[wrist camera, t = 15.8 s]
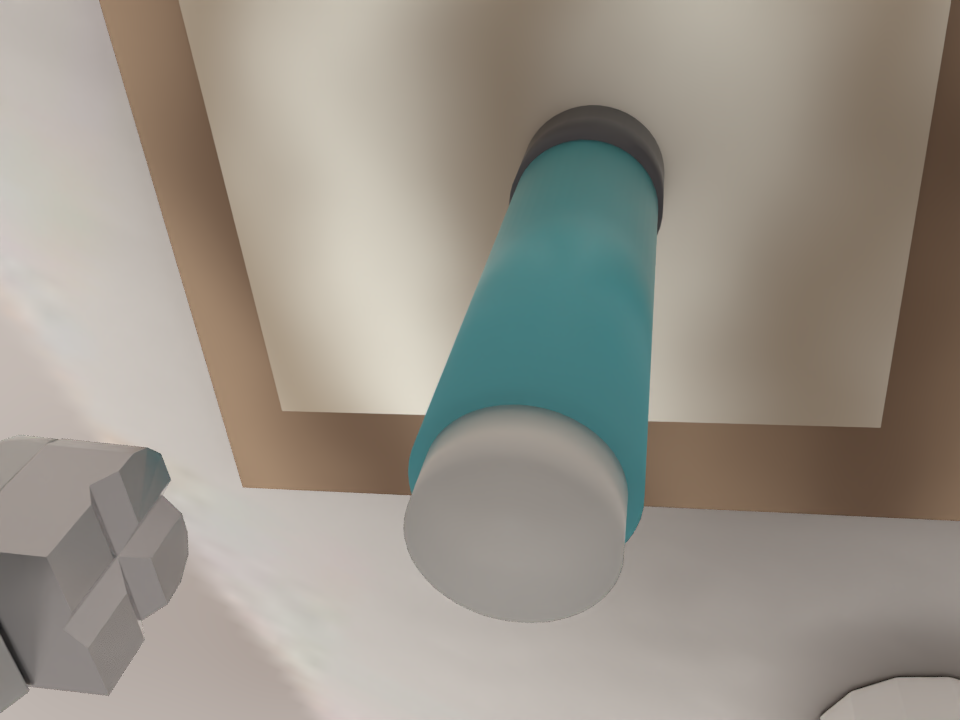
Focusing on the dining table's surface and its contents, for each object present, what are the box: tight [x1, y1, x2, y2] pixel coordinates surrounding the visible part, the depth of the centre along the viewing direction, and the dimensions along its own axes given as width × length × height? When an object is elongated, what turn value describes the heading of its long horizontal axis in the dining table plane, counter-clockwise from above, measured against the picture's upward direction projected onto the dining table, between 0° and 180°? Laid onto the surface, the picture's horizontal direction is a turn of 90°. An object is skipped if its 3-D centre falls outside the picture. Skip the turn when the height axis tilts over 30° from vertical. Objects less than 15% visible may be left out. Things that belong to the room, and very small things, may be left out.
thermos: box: [404, 105, 664, 623], centre depth 16 cm, size 3×3×12 cm
